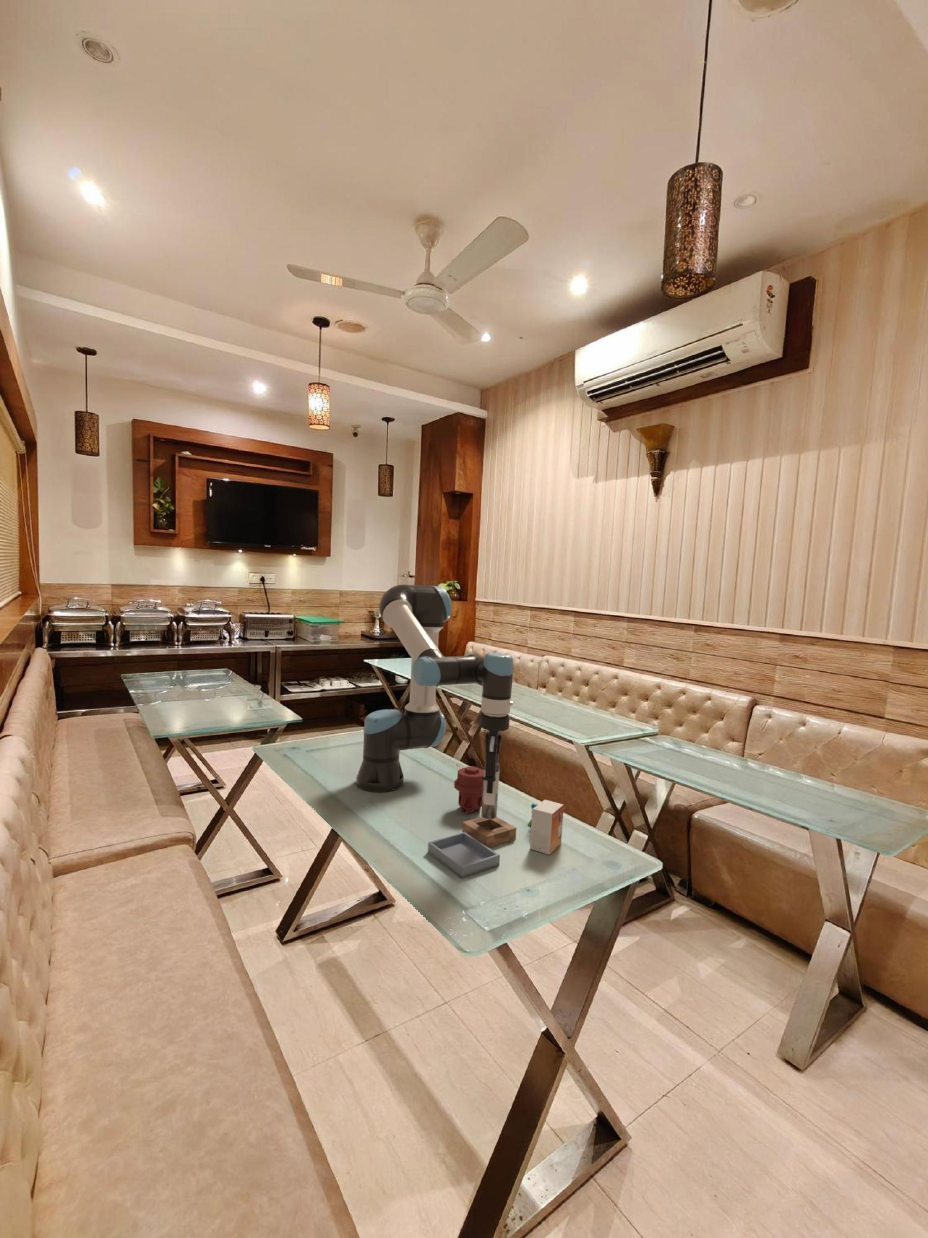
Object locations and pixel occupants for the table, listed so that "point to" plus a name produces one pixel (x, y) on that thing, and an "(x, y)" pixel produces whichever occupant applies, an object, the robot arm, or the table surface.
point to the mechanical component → (470, 788)
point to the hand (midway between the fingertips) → (489, 800)
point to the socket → (495, 836)
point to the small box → (546, 826)
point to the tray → (463, 854)
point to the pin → (491, 810)
